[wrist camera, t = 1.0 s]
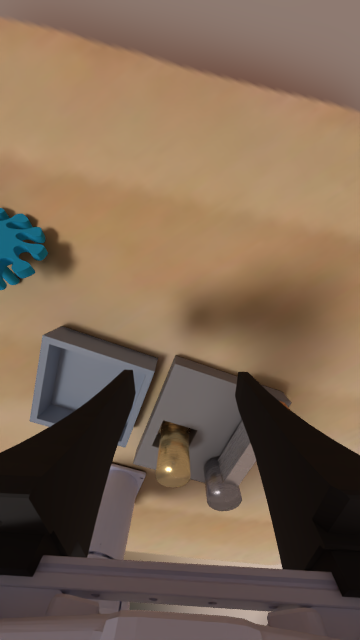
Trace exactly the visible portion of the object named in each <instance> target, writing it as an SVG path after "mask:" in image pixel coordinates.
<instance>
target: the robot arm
mask: <svg viewBox="0 0 360 640" xmlns="http://www.w3.org/2000/svg"><path fill="white" fill-rule="evenodd" d="M135 394H136V390H135V383H134V375H133V370H123V371H122V372H121V373H120V374H119V375H118V376H117V377H115V378H114V379H113V380H112V381H111V382H110V383H109V384H108V385H107V386H105V387H104V388H103V389H102V390H101V391H100V392H99V393H97V394H96V395H95V396H94V397H92V398H91V399H90V400H89V401H87V402H86V403H85V404H84V405H82V406H81V407H79V408H78V409H77V410H75V411H74V412H72V413H71V414H69V415H68V416H66V417H65V418H63V419H62V420H60V421H58V422H57V423H55V424H54V425H52V426H50V427H49V428H47V429H45V430H43V431H42V432H40V433H38V434H36V435H35V436H33V437H31V438H29V439H27V440H25V441H23V442H21V443H20V444H18V445H16V446H13V447H11V448H9V449H7V450H5V451H3V452H1V453H0V640H360V455H358V454H357V453H355V452H353V451H351V450H350V449H348V448H346V447H345V446H343V445H341V444H339V443H338V442H336V441H334V440H333V439H331V438H330V437H328V436H326V435H325V434H323V433H322V432H320V431H319V430H317V429H316V428H314V427H313V426H311V425H310V424H308V423H307V422H305V421H304V420H303V419H301V418H300V417H299V416H297V415H296V414H295V413H293V412H292V411H291V410H289V409H288V408H287V407H286V406H284V405H283V404H282V403H281V402H280V401H278V400H277V399H276V398H275V397H274V396H273V395H272V394H270V393H269V392H268V391H267V390H266V389H265V388H264V387H263V386H262V385H261V384H260V383H259V382H258V381H256V380H255V379H254V378H253V377H252V376H251V375H250V374H249V373H248V372H238V378H237V385H236V391H235V398H236V402H237V406H238V410H239V413H240V416H241V419H242V421H243V424H244V427H245V430H246V432H247V435H248V438H249V440H250V443H251V446H252V448H253V452H254V455H255V458H256V461H257V465H258V469H259V472H260V476H261V480H262V483H263V487H264V491H265V495H266V499H267V503H268V507H269V511H270V515H271V519H272V523H273V528H274V532H275V537H276V541H277V545H278V550H279V554H280V559H281V564H282V568H283V569H268V568H252V567H235V566H218V565H201V564H183V563H168V562H167V563H166V562H151V561H134V560H133V561H132V560H123V558H124V553H125V549H126V544H127V538H128V533H129V528H130V523H131V518H132V513H133V508H134V503H135V498H136V496H137V494H138V491H139V489H140V487H141V485H142V483H143V481H144V479H145V476H146V473H145V472H142V471H139V470H135V469H131V468H127V467H123V466H119V465H116V464H112V461H113V457H114V454H115V451H116V448H117V445H118V442H119V440H120V437H121V435H122V432H123V429H124V427H125V424H126V422H127V419H128V417H129V414H130V412H131V409H132V406H133V402H134V398H135ZM129 602H140V603H154V604H169V605H184V606H198V607H213V608H227V609H243V610H257V611H272V612H269V613H268V616H267V620H268V624H267V626H264V625H259V624H255V623H252V622H250V621H248V620H245V619H242V618H235V617H229V616H218V615H203V614H189V613H174V612H160V611H159V612H158V611H145V610H129Z"/></svg>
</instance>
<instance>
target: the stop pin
mask: <svg viewBox="0 0 360 640" xmlns="http://www.w3.org/2000/svg"><path fill="white" fill-rule="evenodd" d="M155 476H156V480H157V481H158V482H159V483H160V484H161V485H163V486H165V487H170V488H177V487H181V486H183V485H185V484H186V483H188V481H189V480H190V476H191V475H190V455H189V434H188V427H185V426H181V425H178V424H175V423H171V422H168V421H164V420H163V422H162V426H161V434H160V442H159V450H158V458H157V466H156V475H155Z"/></svg>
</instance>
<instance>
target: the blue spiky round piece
mask: <svg viewBox="0 0 360 640" xmlns="http://www.w3.org/2000/svg"><path fill="white" fill-rule="evenodd" d="M23 240H32V241H34V242H36V243H44V242H45V235H44V233H43V231H42V229H41V228H40V227H32V225H31V223H30V221H29V220H28V218H27V217H26V216H25V215H24V214H16V215H14V216H13V217H12V218H9V216H8V215H7V213H6V212H5V210H4V209H2V208H0V290H4V289H5V288H6V286H7V284H6V283H5V281H4V280H3V278H4V279H5V280H6V281H7V282H8V283H9V284H10V285H16V284H18V283H19V281H20V280H19V279H18V278H17V277H16V275H15V274H14V273H13V272H12V271H11V270H10V269H9V268H8V267H7V266H8V265H11V264H12V267H11V268H12V270H13V271H14V272H15V273H16V274H17V276H18V277H20V278H26V277H29V276H31V275H32V274H34V273H35V270H34V269H33V268H32V266H31V265H30V264H29V263H28V262H26V261H23V260H21V259H19V255H20V254H21V253H23V252H28V253H30V254H31V255H32V256H33V258H34V259H35V260H38V261H42V260H43V259H44V258H45V257H46V256H47V255H48V252H47V250H46V248H45V247H44V246H43V245H41V244H30V243H25V242H23Z"/></svg>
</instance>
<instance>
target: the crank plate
mask: <svg viewBox="0 0 360 640" xmlns="http://www.w3.org/2000/svg"><path fill="white" fill-rule="evenodd" d="M237 378H238V377H237V376H234V375H231V374H228V373H225V372H222V371H219V370H217V369H214V368H211V367H208V366H205V365H202V364H199V363H196V362H193V361H190V360H187V359H184V358H181V357H178V356H175V358H174V360H173V363H172V365H171V367H170V370H169V372H168V375H167V377H166V380H165V382H164V384H163V387H162V389H161V392H160V394H159V397H158V399H157V401H156V404H155V406H154V409H153V411H152V413H151V416H150V418H149V421H148V423H147V426H146V428H145V430H144V433H143V435H142V438H141V440H140V443H139V445H138V447H137V450H136V454H135V458H134V462H133V464H136V465H139V466H143V467H147V468H151V469H154V470H156V466H157V458H158V450H159V442H160V434H157V433H158V431H159V429H160V426H161V424H162V422H163V420H164V421H168V422H171V423H175V424H178V425H181V426H185V427H188V428H191V430H190V432H189V433H188V434H189V455H190V475H191V476H190V479H192V480H196V481H200V482H203V483H205V478H204V466H205V464H206V463H207V462H208V461H210V460H212V459H215V458H219V457H220V456H221V454H222V453H223V451H224V449H225V448H226V446H227V445H228V443H229V441H230V440H231V438H232V436H233V435H234V433H235V432H236V430H237V428H238V427H239V425H240V423H241V422H242V419H241V416H240V413H239V410H238V406H237V402H236V398H235V391H236V385H237ZM262 386H263V387H264V388H265V389H266V390H267V391H268V392H269V393H270V394H272V395H273V396H274V397H275V398H276V399H277V400H278V401H281V402H284V403H285V404H286V405H287V407H289V406H290V404H291V402H290V400H289V399H288V398H287V397H286V396H285V394H284V393H283V392H281V391H278V390H275V389H272V388H270V387H267V386H264V385H262Z"/></svg>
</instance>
